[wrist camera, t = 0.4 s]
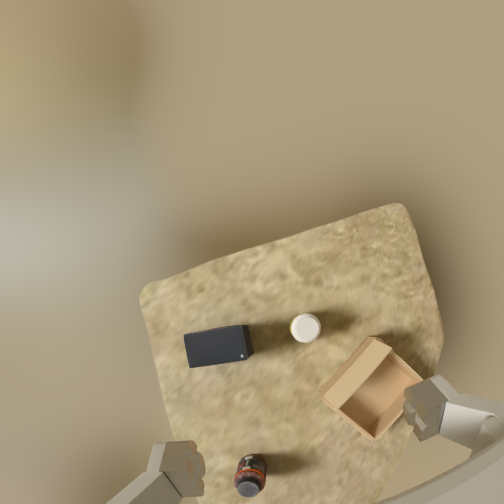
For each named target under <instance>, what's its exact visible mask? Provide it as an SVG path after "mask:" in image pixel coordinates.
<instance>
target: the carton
mask: <svg viewBox="0 0 504 504" xmlns="http://www.w3.org/2000/svg"><path fill="white" fill-rule="evenodd" d="M374 339H375V340H377V341H379V342H381V343H383V344H385V343H384V342H383V341H382V340H381V339H380V338H376V337H369V336H368V337H367V338H366V339H365V340H364V342H363V343H362V344H361V345H360V346H359V347H358V349H357V350H356V351H355V352H354V353H353V354H352V355H351V356H350V358H349V359H348V360H347V361H346V362H345V363H344V364H343V365H342V366H341V368H340V369H339V370H338V371H337V372H336V373H335V374H334V375H333V376H332V377H331V378H330V379H329V380H328V381H327V382H326V383H325V385H324V386H323V387H322V388H321V389H320V390H319V391H318V392H319V395H320V397H321V398H322V400H323V402H325V403H326V404H327V405H328V406H329V407H330V408H332V409H333V410H334V411H335V412H336V413H338V414H339V415H340V416H341V417H342V418H344V419H345V420H346V421H347V422H348V423H350V424H351V425H352V426H353V427H355V428H356V429H357V430H358V431H359V432H361V433H362V434H363V435H364V436H366V437H367V438H368V439H369V440H371V441H372V440H373V441H375V440H376V439H377V440H378V439H379V438H380V437H381V436H382V435H383V434H384V433H385V431H386V430H387V429H388V428H389V427H390V426H391V425H392V424H393V423H394V422H395V421H396V420H397V419H398V417H399V416H400V415H401V414H402V413H403V403H404V402H405V400H406V398H405V397H404V390H405V388H407V387H409V386H412V385H414V384H416V383H419V382H421V381H423V379H422V378H421V377H420V376H419V375H418V374H417V373H416V372H415V371H414V370H413V369H412V368H411V367H410V366H409V365H408V364H407V363H405V362H404V361H403V360H402V359H401V358H400V357H399V356H398V355H397V354H396V353H395V352H394V351H393V350H391V351H390V352H389V354H388V355H387V356H386V357H385V358H384V360H383V361H382V362H381V363H380V364H379V366H378V367H377V368H376V369H375V370H374V371H373V372H372V374H371V375H370V376H369V377H368V378H367V379H366V380H365V382H364V383H363V384H362V385H361V386H360V387H359V388H358V389H357V390H356V391H355V392H354V394H353V395H352V396H351V397H350V398H349V399H348V400H347V401H346V402H345V403H344V404H343V405H342V406H341V407H340V408H339V409H338V410H336V409H335V408H334V407H333V405H332V404H331V403H330V402H329V401H328V400H327V399H326V398H325V396H324V394H325V393H326V392H327V391H328V390H329V389H330V388H331V387H332V386H333V385H334V384H335V383H336V382H337V381H338V380H339V379H340V378H341V377H342V376H343V374H344V373H345V372H346V371H347V370H348V369H349V368H350V367H351V366H352V365H353V363H354V362H355V361H356V360H357V359H358V358H359V357H360V356H361V354H362V353H363V352H364V351H365V350H366V349H367V347H368V346H369V345H370V344H371V343H372V341H373V340H374ZM385 345H387V344H385ZM387 346H388V345H387Z"/></svg>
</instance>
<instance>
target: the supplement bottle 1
mask: <svg viewBox="0 0 504 504" xmlns="http://www.w3.org/2000/svg"><path fill="white" fill-rule="evenodd" d="M266 472H267V464H266V461H265V460H264V459H263V458H262V457H260V456H258V455H247V456H245V457H243V458H242V459H241V461H240V462H239V465H238V468H237V472H236V475H235V479H234V485H235V487H236V488H237V491H238V493H239V494H240V495H241V496H244V497H254V496H256V495H257V494H258V493H259V492H260V491H262V489H263V488H264V486H265V482H266Z"/></svg>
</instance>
